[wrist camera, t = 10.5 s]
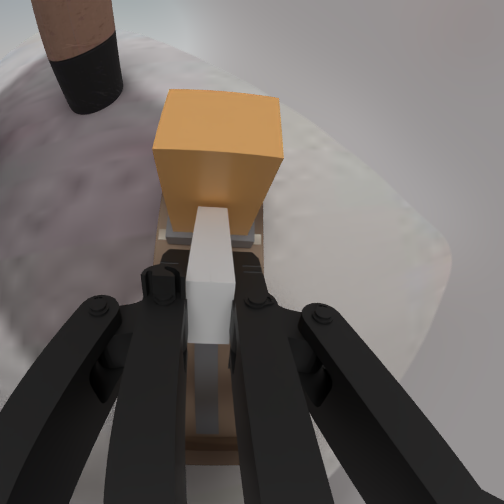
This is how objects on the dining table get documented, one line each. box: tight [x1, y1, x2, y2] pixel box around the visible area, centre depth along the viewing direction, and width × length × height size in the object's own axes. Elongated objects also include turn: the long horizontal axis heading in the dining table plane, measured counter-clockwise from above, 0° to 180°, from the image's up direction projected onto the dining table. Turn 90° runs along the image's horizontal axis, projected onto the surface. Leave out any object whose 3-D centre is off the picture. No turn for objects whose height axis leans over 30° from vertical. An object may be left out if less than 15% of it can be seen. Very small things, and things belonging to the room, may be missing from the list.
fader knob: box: [152, 89, 284, 248], centre depth 15 cm, size 4×6×10 cm
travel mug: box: [31, 0, 123, 114], centre depth 15 cm, size 8×8×20 cm
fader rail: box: [153, 192, 264, 465], centre depth 18 cm, size 23×8×4 cm, turn 0°
